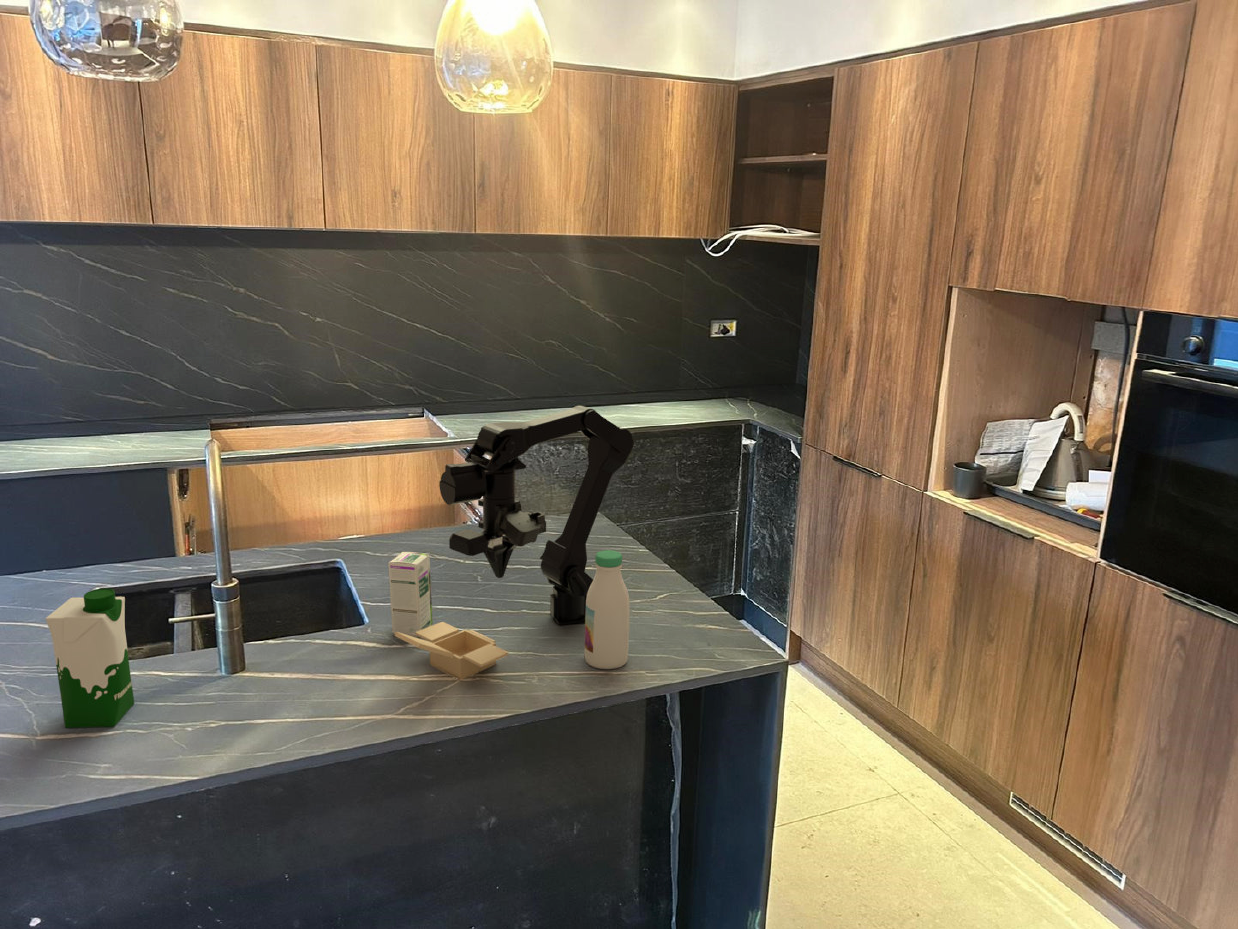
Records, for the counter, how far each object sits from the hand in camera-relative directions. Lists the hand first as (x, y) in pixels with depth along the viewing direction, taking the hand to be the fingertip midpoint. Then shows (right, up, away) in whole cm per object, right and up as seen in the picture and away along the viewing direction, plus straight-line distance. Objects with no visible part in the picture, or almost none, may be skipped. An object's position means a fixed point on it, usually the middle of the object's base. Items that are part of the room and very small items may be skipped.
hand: (499, 577), depth 164 cm
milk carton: (-58, -18, -26) cm, 66 cm away
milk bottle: (+19, -14, -4) cm, 25 cm away
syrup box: (-17, -11, +5) cm, 21 cm away
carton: (-5, -14, -7) cm, 17 cm away
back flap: (-8, -11, -12) cm, 18 cm away
